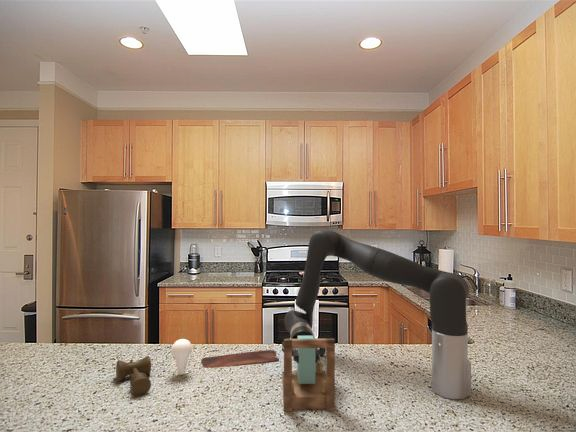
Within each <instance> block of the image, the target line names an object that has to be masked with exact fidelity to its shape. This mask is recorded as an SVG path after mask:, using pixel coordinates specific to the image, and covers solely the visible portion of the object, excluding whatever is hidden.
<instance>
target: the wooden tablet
mask: <svg viewBox="0 0 576 432" xmlns="http://www.w3.org/2000/svg"><path fill="white" fill-rule="evenodd" d="M279 361H280V359H279V358H278V357H277V352H276V350H274V349H268V350H267V349H266V350H255V351H247V352H240V353H231V354H223V355H215V356H208V357H203V358H201V362H200V363H201V364H202V366H203V368H206V369H207V368H208V369H211V368H213V369H217V368H225V367H226V368H227V367H235V366H243V365H253V364H264V363H265V364H267V363H268V364H269V363H274V362H279Z"/></svg>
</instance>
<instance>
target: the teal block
mask: <svg viewBox="0 0 576 432" xmlns="http://www.w3.org/2000/svg"><path fill="white" fill-rule="evenodd" d="M314 337H315V336H314ZM314 337H313V336H298V339H314ZM298 353H299V363H297V362H296V364H297V367H296V368H297V374H298V381H299V384H315V371H316V363H315V348H298Z"/></svg>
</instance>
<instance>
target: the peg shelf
mask: <svg viewBox="0 0 576 432" xmlns="http://www.w3.org/2000/svg"><path fill="white" fill-rule="evenodd" d="M283 341H284V352H283V371H282V372H281V373H282V376H281V378H282V379H281V380H282V381H281V383H282V384H283V385H282V399H283V400H282V401H283V402H282V404H283V412H284V413H285V412H286V413H288V412H292V411H293V410H301V409H304V410H306V409H307V410H309V409H317V410H318V409H319V410H320V409H326V412H335V411H336V410H335V408H336V407H335V403H336V401H335V399H336V396H335V394H336V393H335V391H336V386H335V385H336V379H335V378H336V376H335V375H336V374H335V373H336V372H335V371H336V365H335V364H336V359H335V358H336V352H335V350H336V339H335V338H334V337H333V338H331V337H330V338H315V339H290V338H284V339H283ZM292 348H318V349H319V348H326V352H325V356H326V358H325V360H326V361H325V363H326V364H325V369H326V370H323V363H322V362H317V363H316V370H315V384H299V381H298V374H297V371H295V370H294V371H293V356H292Z"/></svg>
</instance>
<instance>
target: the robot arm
mask: <svg viewBox="0 0 576 432" xmlns="http://www.w3.org/2000/svg"><path fill="white" fill-rule="evenodd" d="M327 257H335V258H340V259H343V260H346V261H348V262H350V263H352V264H353V265H355V266H356V267H357V268H358V269H360V270H362V271H363V272H365V273H366V274H368V275H370V276H372V277H375V278H377V279H379V280H382V281H384V282H388V283H391V284H396V285H402V286H403V285H404V286H408V287H412V288H417V289H419V290H422V291H424V292H427V293H428V294H429V318H430V321H431V389H432V391H433V392H434V394H437V395H438V396H440V397H442V398H445V399H449V400H464V399H466V398H468V397H472V362H471V361H470V360H469V359H468V358H469V357H468V356H469V354H468V353H469V350H468V347H469V346H468V344H469V343H468V340H469V339H468V338H469V337H468V336H469V335H468V332H469V331H468V329H469V328H468V323H467V298H468V297H469V294H470V287H469V285H468V283H467V281H466V280H465V278H463V277H462V276H460V275H459V274H456V273H452V272H448V271H445V270H440V269H437V268H433V267H429V266H425V265H423V264H420V263H418V262H415V261H413V260H411V259H408V258H406V257H404V256H401V255H399V254H397V253H394V252H392V251H388V250H386V249H383V248H379V247H376V246H373V245H369V244H365V243H361V242H358V241H356V240H353V239H351V238H349V237H346V236H344V235H342V234H340V233H338V232H336V231H334V230H329V229H328V230H317V231H315V232H313V234H312V235H311V236H310V238H309V243H308V248H307V255H306V258H305V265H304V266H305V267H304V271H303V276H302V280H301V283H300V286H299V289H298V292H297V294H296V295H297V296H296V298H295V305H296V306H297V308H299V309H301V310H302V311H304V312H302V311H298V310H295V309H294V310H293V309H292V310H289V311H287V312H286V314H285V316H284V319H283V320H284V322H283V323H284V327H285V329H286V330H287V331H288V332H289V335H290V336H289V337H290V338H289V339H298V336H313V337H314V339H316V338H315V334H314V332H313V324H314V309H315V304H316V302H317V298H318V295H319V291H320V287H321V271H322V268H323V265H324V262H325V260H326V258H327ZM281 351H282V353H284V340H283V341H281ZM325 356H326V348H315V364H317V363H319V361H320V357H321V358H323V357H325ZM292 359H293V361H294V362H296V364H297V363H299V353H298V348H292Z"/></svg>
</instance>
